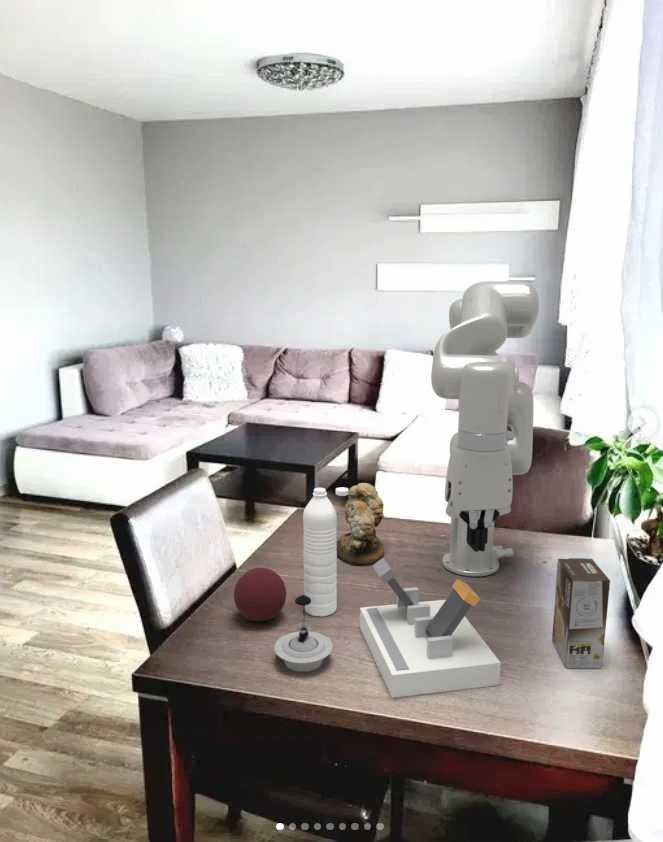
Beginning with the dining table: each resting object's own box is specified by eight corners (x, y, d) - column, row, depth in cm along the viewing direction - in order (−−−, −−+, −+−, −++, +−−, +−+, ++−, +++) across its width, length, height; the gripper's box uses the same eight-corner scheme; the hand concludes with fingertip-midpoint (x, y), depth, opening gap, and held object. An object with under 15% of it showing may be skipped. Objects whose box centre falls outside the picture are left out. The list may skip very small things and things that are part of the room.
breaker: (415, 600, 126) (383, 557, 123) (423, 613, 121) (390, 569, 118) (405, 607, 126) (372, 565, 123) (413, 621, 121) (379, 577, 118)
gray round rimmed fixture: (322, 612, 107) (339, 585, 116) (264, 604, 110) (284, 578, 119) (323, 682, 110) (339, 649, 119) (265, 672, 112) (286, 641, 122)
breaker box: (450, 618, 130) (452, 583, 128) (499, 685, 109) (501, 644, 107) (359, 627, 127) (360, 591, 125) (391, 698, 105) (392, 656, 104)
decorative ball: (294, 609, 133) (293, 562, 131) (274, 635, 124) (273, 584, 122) (247, 602, 136) (246, 556, 134) (225, 626, 127) (223, 577, 125)
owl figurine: (331, 537, 170) (331, 472, 166) (377, 536, 171) (379, 471, 167) (338, 567, 152) (338, 495, 149) (389, 566, 153) (391, 494, 150)
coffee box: (603, 669, 113) (612, 581, 110) (565, 668, 113) (572, 580, 110) (585, 640, 122) (592, 557, 119) (549, 639, 122) (556, 557, 119)
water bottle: (302, 616, 130) (300, 493, 125) (305, 600, 137) (304, 483, 131) (347, 618, 130) (347, 494, 125) (348, 602, 136) (349, 484, 131)
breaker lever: (431, 637, 116) (468, 585, 115) (441, 653, 111) (480, 598, 110) (420, 631, 115) (457, 578, 114) (430, 647, 110) (468, 592, 109)
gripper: (516, 432, 111) (509, 536, 116) (429, 436, 109) (425, 542, 113) (536, 444, 104) (529, 554, 108) (444, 448, 102) (440, 561, 106)
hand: (476, 548), depth 111 cm, fingers closed
